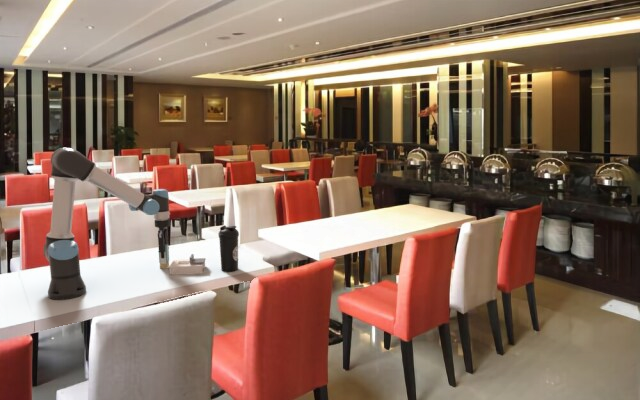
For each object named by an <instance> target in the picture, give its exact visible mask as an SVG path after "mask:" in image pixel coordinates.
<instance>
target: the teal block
mask: <svg viewBox="0 0 640 400" xmlns="http://www.w3.org/2000/svg"><path fill="white" fill-rule="evenodd" d="M165 251H166V264H161V261H160V252H158V259H159V260H158V261H159V269H169V267H170V246H169V243H168V244H165Z"/></svg>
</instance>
